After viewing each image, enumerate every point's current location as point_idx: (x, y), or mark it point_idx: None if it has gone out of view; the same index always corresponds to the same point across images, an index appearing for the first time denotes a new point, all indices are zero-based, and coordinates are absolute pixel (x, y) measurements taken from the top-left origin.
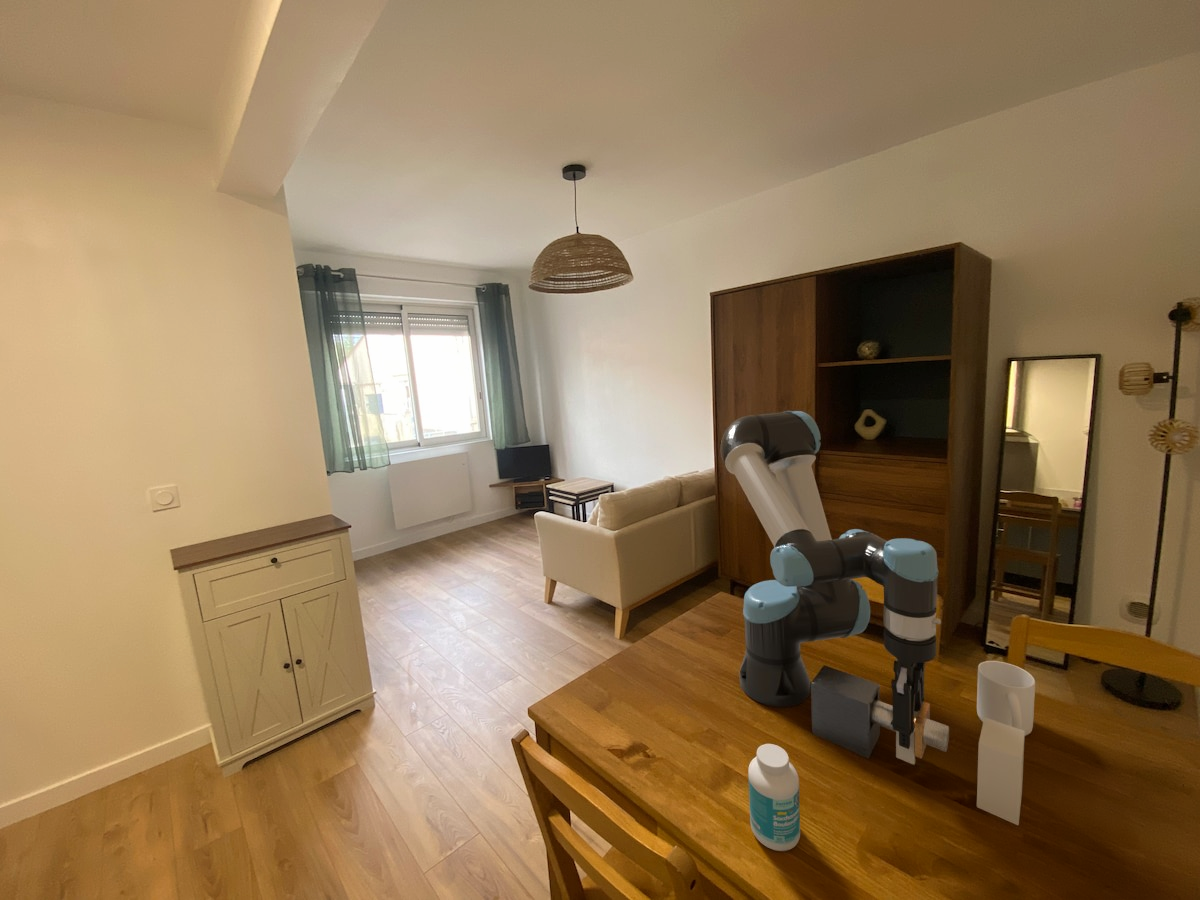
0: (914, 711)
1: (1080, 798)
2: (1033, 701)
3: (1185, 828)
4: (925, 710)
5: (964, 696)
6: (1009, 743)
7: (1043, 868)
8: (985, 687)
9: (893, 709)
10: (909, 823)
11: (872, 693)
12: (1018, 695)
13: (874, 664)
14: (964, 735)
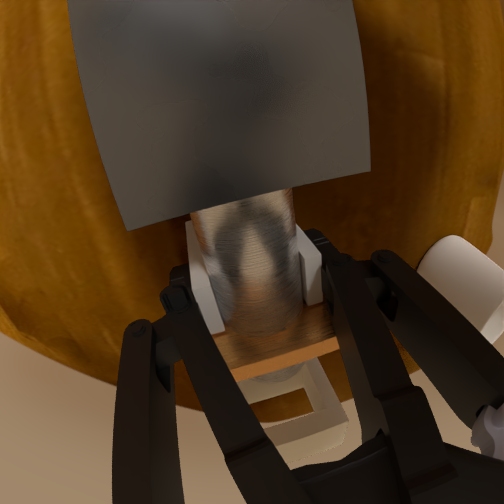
0: (318, 287)
1: (334, 366)
2: None
3: (345, 399)
4: (304, 357)
5: (472, 204)
6: (286, 458)
7: (181, 392)
8: (475, 301)
9: (115, 417)
10: (76, 294)
11: (253, 189)
12: None
13: (481, 47)
14: (386, 246)
